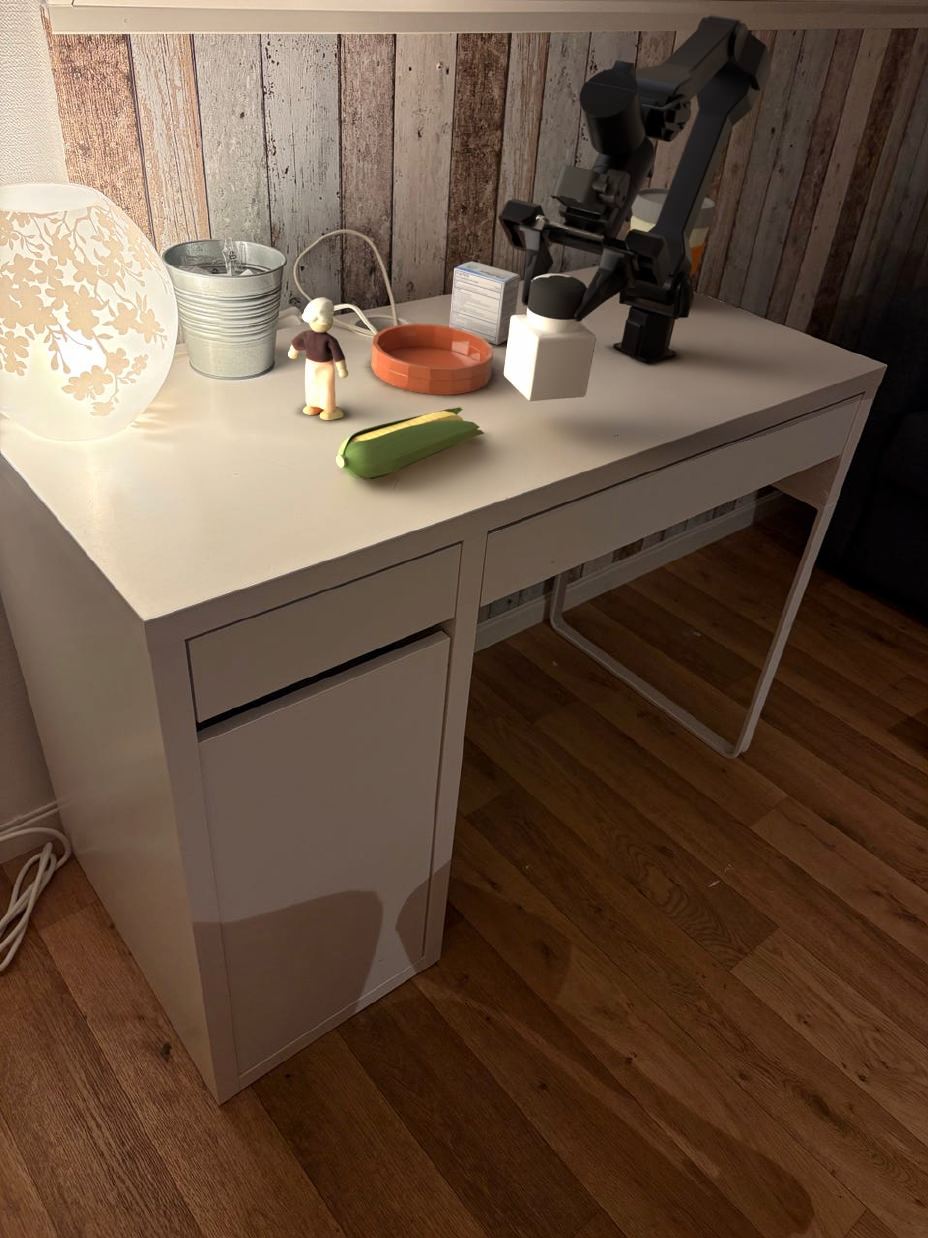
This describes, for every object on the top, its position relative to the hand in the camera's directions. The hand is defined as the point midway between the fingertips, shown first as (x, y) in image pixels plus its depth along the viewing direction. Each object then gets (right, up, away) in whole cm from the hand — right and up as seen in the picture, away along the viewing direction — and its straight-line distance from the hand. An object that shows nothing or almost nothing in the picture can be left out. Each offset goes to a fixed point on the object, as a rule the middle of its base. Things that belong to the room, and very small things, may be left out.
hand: (549, 311), depth 102 cm
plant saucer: (-13, -2, +18) cm, 23 cm away
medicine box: (-7, +6, +30) cm, 32 cm away
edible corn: (-14, -16, -1) cm, 21 cm away
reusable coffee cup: (+21, +18, +52) cm, 59 cm away
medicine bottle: (0, -7, +6) cm, 9 cm away
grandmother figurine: (-25, -10, +6) cm, 28 cm away
